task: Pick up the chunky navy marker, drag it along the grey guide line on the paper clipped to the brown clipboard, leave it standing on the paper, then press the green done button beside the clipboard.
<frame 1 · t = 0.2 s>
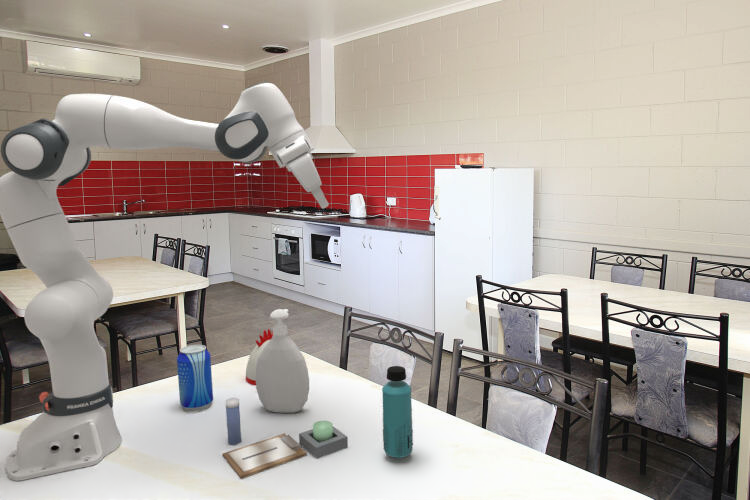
hand: (325, 206, 120), 54 cm above the table, tool tilted 30°, fingers open, 8 cm apart
beer can: (197, 406, 142), on the table
clipboard: (264, 455, 116), on the table
beverage bottle: (397, 457, 115), on the table
kitchen timer: (269, 378, 161), on the table
soap bottle: (284, 409, 139), on the table
button housing: (323, 445, 120), on the table
done button: (322, 432, 119), point 3 cm above the table, slide at 0.0 cm
marker: (234, 441, 122), on the table
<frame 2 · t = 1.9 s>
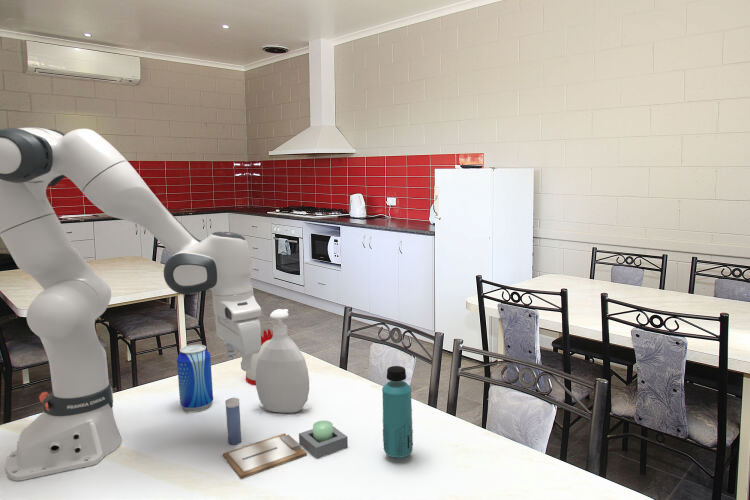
hand: (238, 363, 120), 19 cm above the table, tool pointing down, fingers open, 8 cm apart
nothing on the table moved.
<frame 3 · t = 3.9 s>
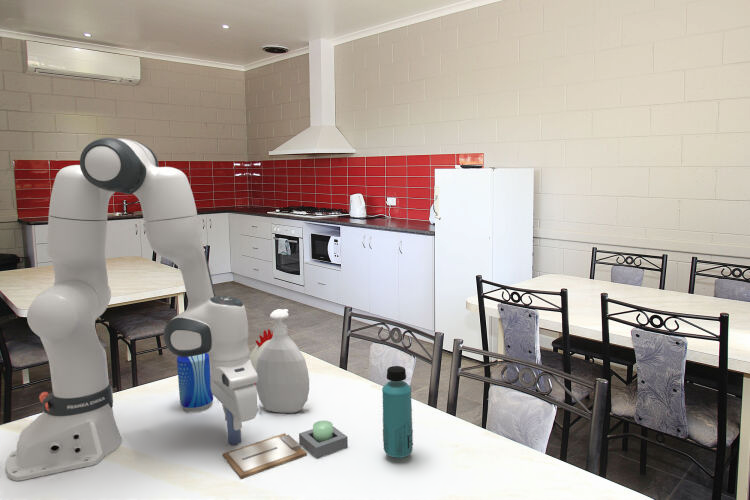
hand: (233, 424, 122), 4 cm above the table, tool pointing down, fingers closed on marker, 3 cm apart
marker: (234, 441, 122), on the table, touching gripper
everything else where it was.
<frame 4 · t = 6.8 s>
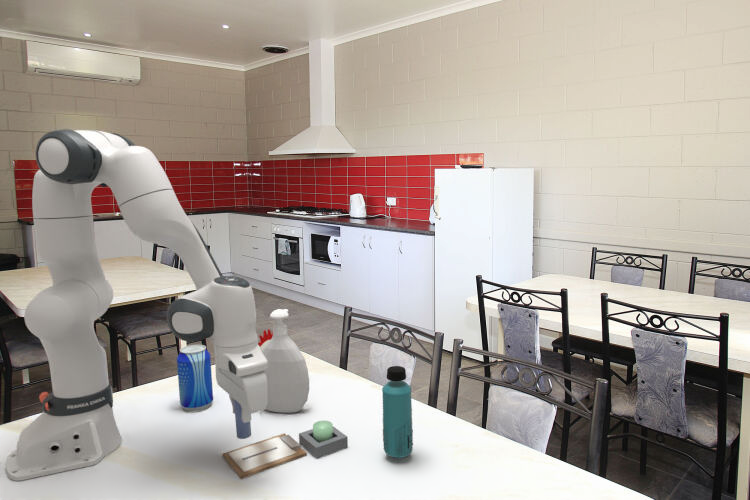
hand: (242, 417, 112), 10 cm above the table, tool pointing down, fingers closed on marker, 3 cm apart
marker: (244, 435, 112), point 6 cm above the table, touching gripper
everything else where it was.
when the fingers open (5 cm above the table, at t = 9.2 s): marker stays where it is, resting on clipboard.
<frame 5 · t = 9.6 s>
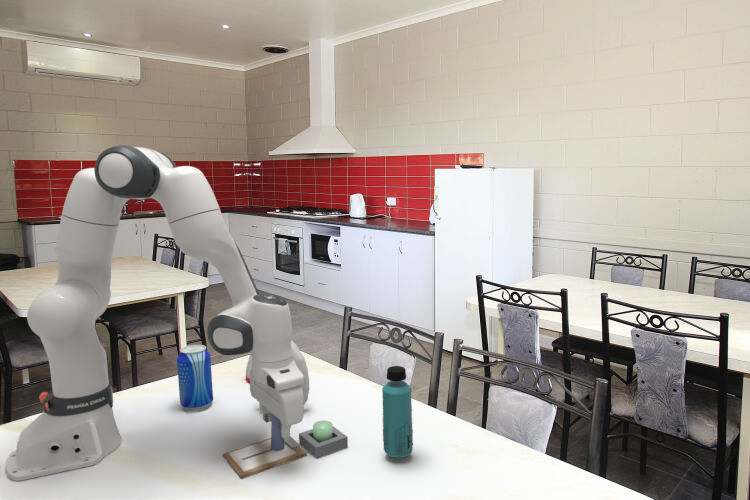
hand: (276, 428, 117), 5 cm above the table, tool pointing down, fingers open, 8 cm apart
marker: (277, 447, 118), point 1 cm above the table, touching clipboard
everything else where it was.
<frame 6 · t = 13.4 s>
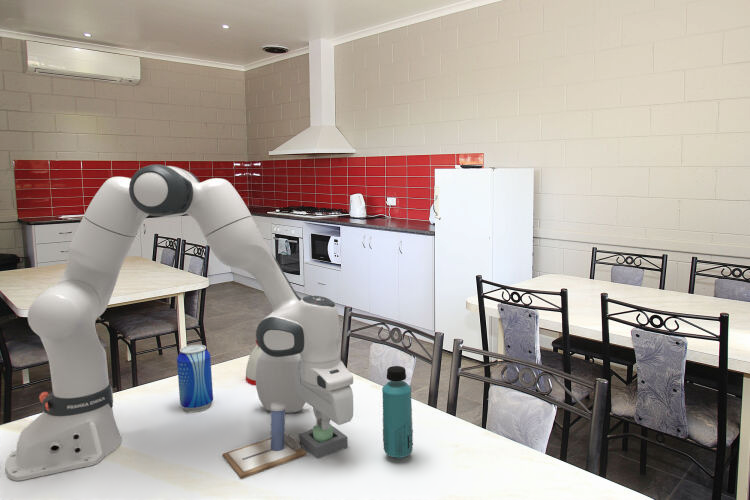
hand: (323, 427, 119), 4 cm above the table, tool pointing down, fingers closed, pressing on done button
done button: (323, 435, 120), point 2 cm above the table, slide at 0.7 cm, touching gripper
everything else where it was.
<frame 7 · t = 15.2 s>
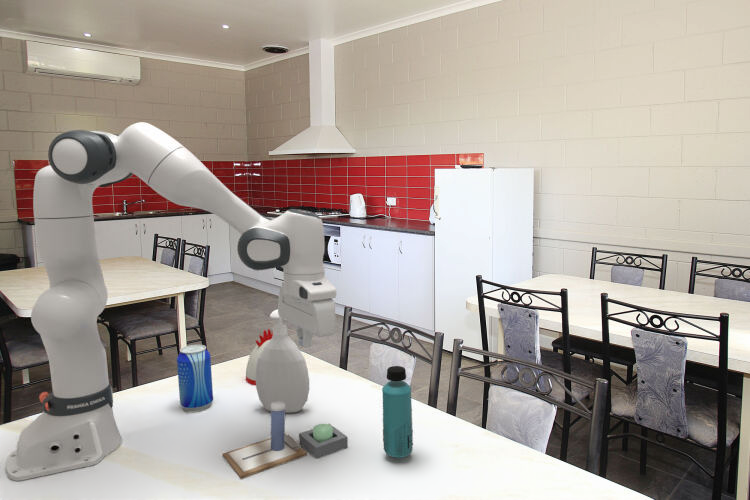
hand: (304, 346, 117), 23 cm above the table, tool pointing down, fingers closed
done button: (323, 435, 120), point 2 cm above the table, slide at 0.8 cm
everything else where it was.
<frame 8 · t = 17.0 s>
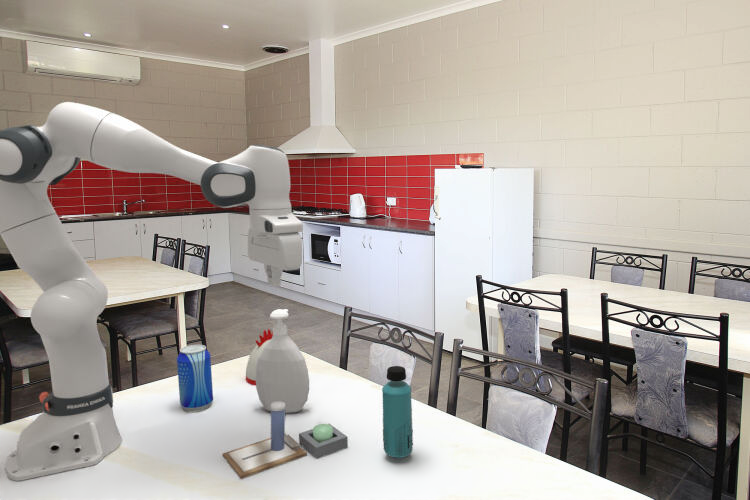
hand: (274, 285, 115), 37 cm above the table, tool pointing down, fingers closed
nothing on the table moved.
at the end: done button slide at 0.8 cm; marker inside the target area on the clipboard (3.1 cm from its centre), point 0.9 cm above the clipboard's base; the gripper is holding nothing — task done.
